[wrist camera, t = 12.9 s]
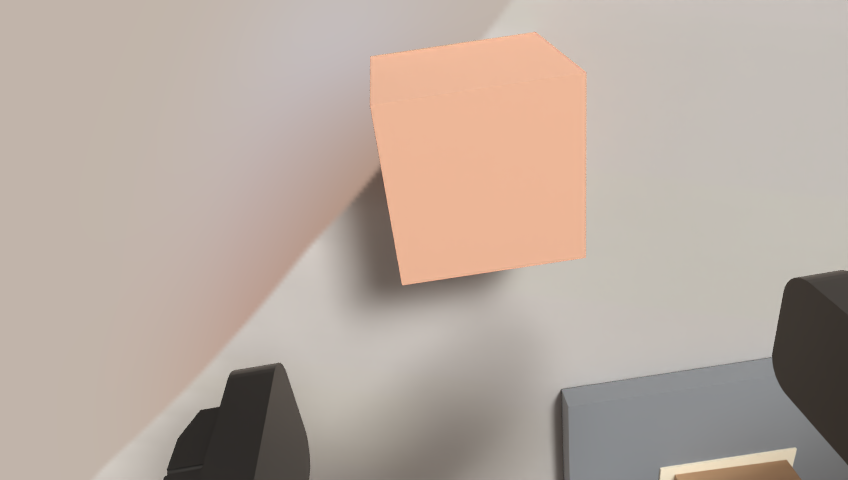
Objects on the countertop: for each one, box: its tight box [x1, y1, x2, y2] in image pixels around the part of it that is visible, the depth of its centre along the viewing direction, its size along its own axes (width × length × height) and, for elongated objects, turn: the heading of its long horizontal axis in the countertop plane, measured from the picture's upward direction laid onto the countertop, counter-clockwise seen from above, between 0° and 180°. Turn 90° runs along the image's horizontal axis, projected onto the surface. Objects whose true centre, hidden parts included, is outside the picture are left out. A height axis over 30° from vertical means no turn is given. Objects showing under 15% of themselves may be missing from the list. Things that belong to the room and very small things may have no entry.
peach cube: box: [370, 32, 586, 285], centre depth 17 cm, size 5×5×5 cm
